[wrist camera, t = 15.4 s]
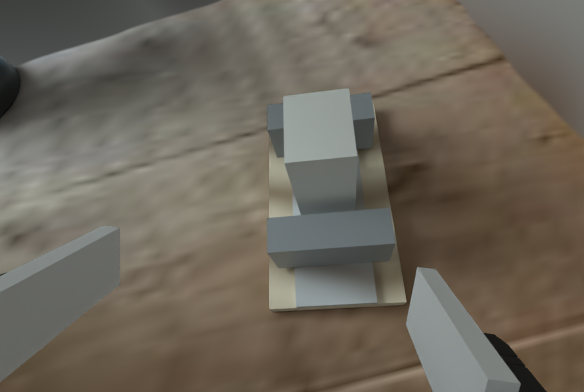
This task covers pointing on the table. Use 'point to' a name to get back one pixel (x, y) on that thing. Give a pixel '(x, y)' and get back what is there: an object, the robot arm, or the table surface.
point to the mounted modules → (330, 226)
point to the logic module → (321, 151)
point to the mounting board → (343, 277)
